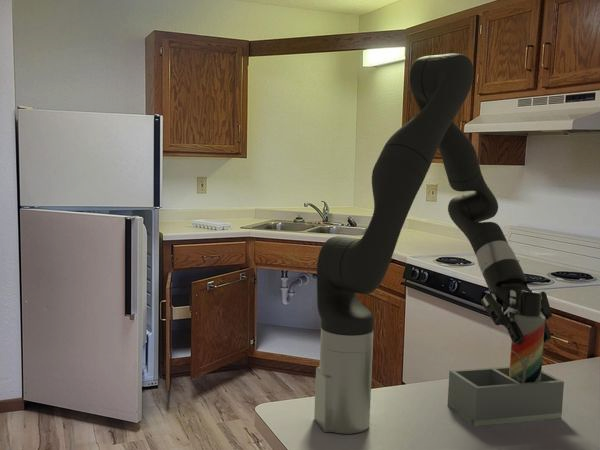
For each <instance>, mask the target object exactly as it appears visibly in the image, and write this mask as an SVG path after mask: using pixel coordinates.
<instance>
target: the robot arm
mask: <svg viewBox="0 0 600 450" xmlns="http://www.w3.org/2000/svg"><path fill="white" fill-rule="evenodd" d="M408 78H409V86H410V91H411V93H412V96H413V99H414V101H415V103H416V105H417V107H418V109H419V111H420V112H419V113H417V114H416V115H415V116H413V117H412V118H411V119H410V120H409V121H407V122H406V123H405V124H403V126H402V127H400V128H399V129H398V130H396V131H395V132H394V133H393V135H391V136H390V138H389V139H387V141H386V142H385V144H384V147H382V150H381V151H380V154H379V156H378V158H377V160H376V162H375V163H374V166H373V168H372V172H371V173H372V174H371V189H372V196H373V204H374V206H373V213H372V216H371V219H370V222H369V224H368V226H367V228H366V230H365V232H364V234H363V236H361V238H355V237H350V236H349V237H348V236H333V237H330V238H328V239H327V240H326V241H324V243H323V244H322V246H321V248H320V250H319V253H318V258H317V262H316V263H317V264H316V298H317V299H316V301H317V303H316V305H317V312H318V315H319V318H320V344H319V346H320V347H319V350H320V351H319V366H317V367H316V368H315V383H314V384H315V389H314V413H313V414H314V420H315V421H316V423H317V424H318V425H319V427H320V428H321V430H322V431H323V432H325V433H326V432H328V433H329V432H332V433H337V434H345V435H346V434H349V435H350V434H357V433H358V434H359V433H362V432H364V431H366V430H367V429H368V428H369V426H370V422H371V421H370V420H371V400H372V399H371V397H372V396H371V394H372V376H373V375H372V373H373V353H374V352H373V349H374V329H375V327H374V326H375V325H374V324H375V317H374V314H373V313H372V312H371V311H370V310H369V309H368V308H366V306H365V305H363V304H362V303H361V300H360V299H358V297H357V294H360V295H368V294H371V293H373V292H375V291H376V290H377V289H378V288H379V286H380V285H381V283H382V282H383V280H384V279H385V276H386V275H387V272H388V269H389V267H390V264H391V261H392V258H393V255H394V252H395V249H396V247H397V243H398V241H399V237H400V236H401V231H402V229H403V226H404V224H405V222H406V220H407V218H408V217H407V216H408V215H409V212H410V209H411V208H412V205H413V203H414V201H415V198H416V196H417V195H418V193H419V191H420V189H421V186H422V185H423V182H424V180H425V178H426V177H427V175H428V172H429V170H430V167H431V165H432V162H433V161H434V160H433V159H434V158H435V155H436V153H437V151H438V150H439V153H440V156H441V160H442V163H443V166H444V170H445V173H446V174H445V175H446V177H447V180H448V185H449V186H450V188H451V189H452V190H453V191H455V192H461V193H462V192H466V193H463V194H460V195H457V196H455V197H453V198H451V199H450V200H449V202H448V205H447V212H448V215H449V217H450V219H451V221H452V222H453V223H454V225H455V226H456V227H457V228H458V229H459V231H461V232H462V233H463V234H464V235H465V237H466V238H467V240H468V242H469V243H470V246H471V248H472V249H473V252H474V254H475V257H476V260H477V264H478V268H479V269H480V272H481V275H482V276H483V278H484V281H485V283H486V286H487V288H488V290H489V292H488V293H487V292H486V293H485V295H484V296H483V298H481V300H480V303H481V304H482V306H483V308H484V309H485V311H486V312H487V314H488V316H489V317H490V319H491V320H492V322H493V323H494V325H496V326H503V327H504V328H506V330H507V333H508V335H509V337H510V339H511V341H513V342H515V344H516V345H518V344H521V343H522V342H523V341H524V337H523V335H522V332H521V330H520V328H519V327H518V325H517V323H516V322H514V321H515V317H514V316H515V314H516V313H518V310H519V298H520V291H525V292H533V291H532V290H531V289H530V287H528V283H527V277H526V274H525V273H524V270H523V268H522V266H521V264H520V262H519V260H518V257H517V256H516V254H515V252H514V251H513V248H511V246H510V244H509V242H508V240H507V238H506V236H505V234H504V231H503V229H502V228H501V226H500V225H499V224H498V223H496V222H494V221H488V220H490V219H492V218H494V217H495V216H497V213H498V210H499V203H498V200H497V198H496V197H495V195H494V193H493V192H492V190H491V189H490V187H489V186H488V185H487V183H486V181H485V178H484V176H483V174H482V170H481V166H480V162H479V158H478V154H477V152H476V149H475V146H474V145H473V143H472V142H471V140H470V139H469V138H468V136H467V135H466V134H465V132H463V131H462V130H461V128H460V127H459V126H458V125H457V124H456V122H454V119H455V118H456V116H457V114H458V113H459V111H460V109H461V108H462V106H463V104H464V103H465V101H466V99H467V97H468V95H469V93H470V91H471V87H472V85H473V82H474V66H473V63H472V60H471V59H470V57H468V56H467V55H465V54H462V53H444V54H435V55H426V56H425V55H424V56H421V57H418V58H417V59H416V60H415V61H414V62H413V63H412V66H411V67H410V71H409V77H408ZM540 293H541V313H540V315H541V316H543V317H544V318H545V328H544V342H543V344H547V343H549V341H550V340H551V339H552V333H551V330H550V329H549V327H548V324H547V322H548V321H549V320H550V319H551V318H552V317H553V314H552V310H551V306H550V303H549V299H548V296H547V293H546V292H545V291H541V292H540Z"/></svg>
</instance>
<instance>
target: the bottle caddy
mask: <svg viewBox="0 0 600 450" xmlns="http://www.w3.org/2000/svg"><path fill="white" fill-rule="evenodd" d="M509 371H510V366H499V367H497V366H496V367H484V368H483V367H482V368H468V369H451V370H449V373H448V392H447V407H449V408H450V409H451V410H453V411H454V412H456V414H458V415H459V416H460V417H461V418H463V419H465V421H467V422H468V423H469V424H471V425H472V426H473V427H481V426H493V425H502V424H512V423H522V422H523V423H524V422H532V421H534V422H535V421H542V420H545V421H546V420H553V419H554V420H555V419H562V415H563V414H562V412H563V402H564V401H563V400H564V387H565V381H563V380H562V379H560V378H557V377H556V376H553V375H552V374H550V373H548V372H545V371H544V370H541V382H531V383H519V382H517V381H516V380H514V379H512V378H510V377H509Z"/></svg>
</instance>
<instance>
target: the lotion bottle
mask: <svg viewBox="0 0 600 450" xmlns="http://www.w3.org/2000/svg"><path fill="white" fill-rule="evenodd" d="M540 313H541V292H533V291H532V292H525V291H520V298H519V310H518V312H516V313H515V316H514V317H515V321H514V322H516V323H517V325H518V327H519V328H520V330H521V332H522V335H523V337H524V341H523V342H522V343H521V344H518V345H516V344H515V342H513V341H512V340H511V345H510V357H509V359H510V360H509V367H510V371H509V377H510V378H512V379H514V380H516V381H517V382H519V383H531V382H541V370H542V369H543V354H544V343H543V342H544V328H545V318H544V317H543V316H541V315H540ZM542 371H543V370H542Z"/></svg>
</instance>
